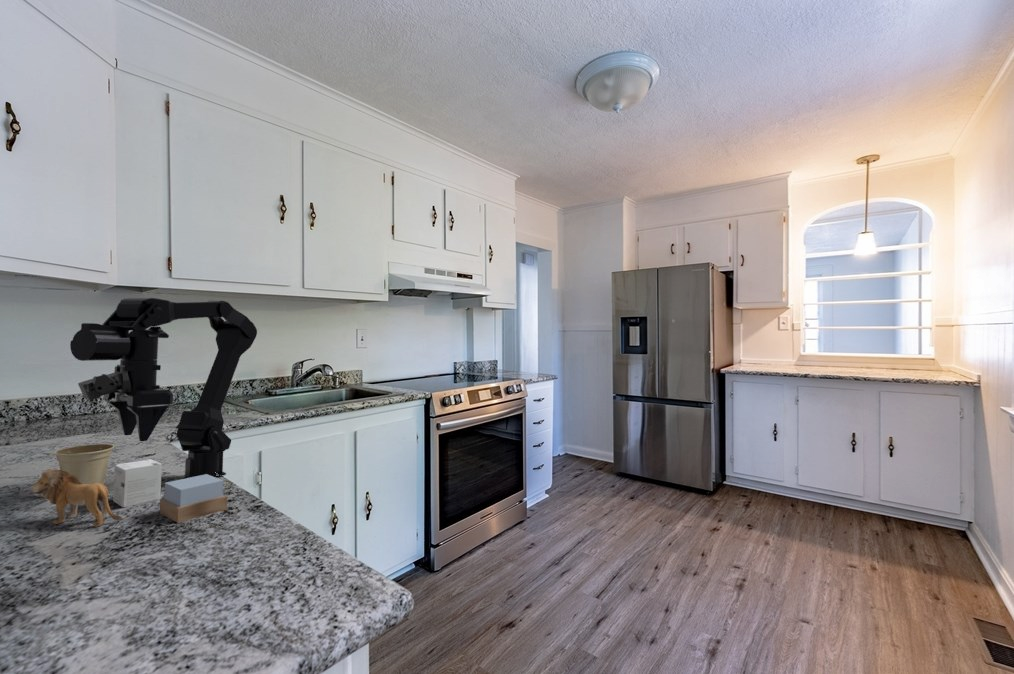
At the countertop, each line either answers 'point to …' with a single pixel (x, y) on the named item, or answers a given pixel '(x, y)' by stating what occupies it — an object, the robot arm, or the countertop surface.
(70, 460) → the flower pot
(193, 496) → the top slab
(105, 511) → the lion figurine
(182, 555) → the countertop surface
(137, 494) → the skincare box
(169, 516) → the bottom slab
